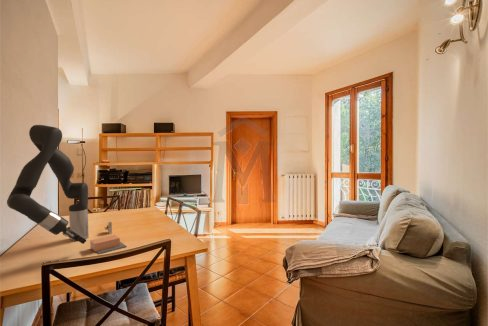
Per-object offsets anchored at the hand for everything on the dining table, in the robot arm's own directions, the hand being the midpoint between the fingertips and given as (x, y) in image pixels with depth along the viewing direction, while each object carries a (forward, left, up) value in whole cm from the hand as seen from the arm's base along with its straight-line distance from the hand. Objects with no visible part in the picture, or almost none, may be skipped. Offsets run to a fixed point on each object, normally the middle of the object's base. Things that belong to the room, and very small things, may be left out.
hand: (84, 241), depth 124 cm
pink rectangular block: (0, +3, -3) cm, 5 cm away
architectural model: (-27, +19, -6) cm, 34 cm away
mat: (0, +11, -5) cm, 12 cm away
